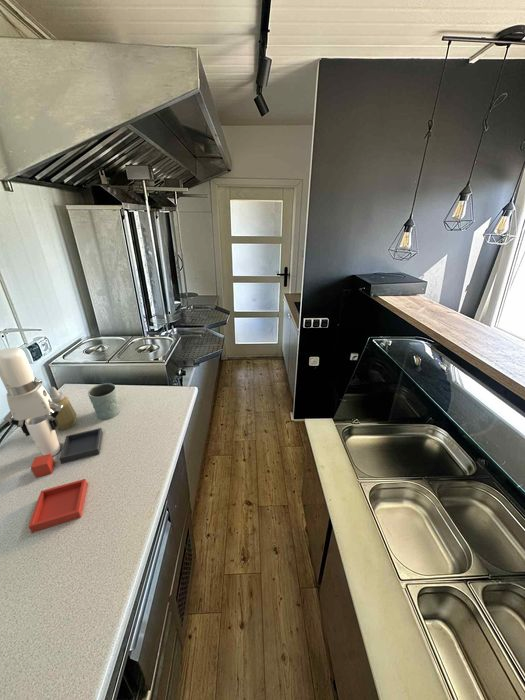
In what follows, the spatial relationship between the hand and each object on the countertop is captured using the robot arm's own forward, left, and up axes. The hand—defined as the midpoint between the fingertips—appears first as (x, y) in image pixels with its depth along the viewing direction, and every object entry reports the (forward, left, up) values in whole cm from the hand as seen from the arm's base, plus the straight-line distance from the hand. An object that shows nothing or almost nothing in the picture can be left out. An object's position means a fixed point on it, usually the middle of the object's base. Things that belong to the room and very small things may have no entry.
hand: (42, 430), depth 97 cm
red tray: (+8, -26, -10) cm, 29 cm away
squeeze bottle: (+2, +14, -10) cm, 18 cm away
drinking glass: (0, 0, -10) cm, 10 cm away
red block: (0, -9, -10) cm, 13 cm away
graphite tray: (+10, -2, -10) cm, 14 cm away
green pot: (+17, +16, -10) cm, 26 cm away
